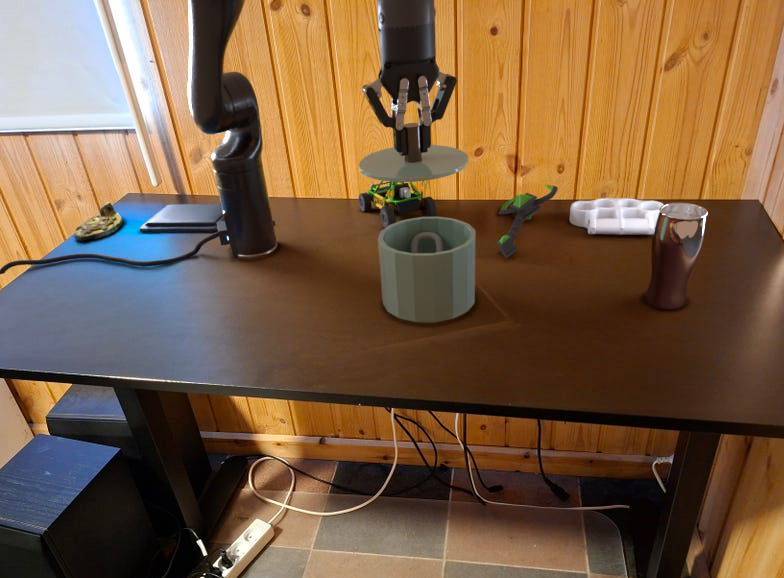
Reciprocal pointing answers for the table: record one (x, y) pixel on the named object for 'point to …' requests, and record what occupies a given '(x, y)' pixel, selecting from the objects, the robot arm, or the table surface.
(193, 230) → the dark grey flat block
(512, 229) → the war hammer
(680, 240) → the beer glass
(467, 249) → the pot
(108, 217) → the olive oval piece
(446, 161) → the pot lid
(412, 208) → the motor vehicle
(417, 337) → the table surface
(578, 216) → the white flat holed piece
